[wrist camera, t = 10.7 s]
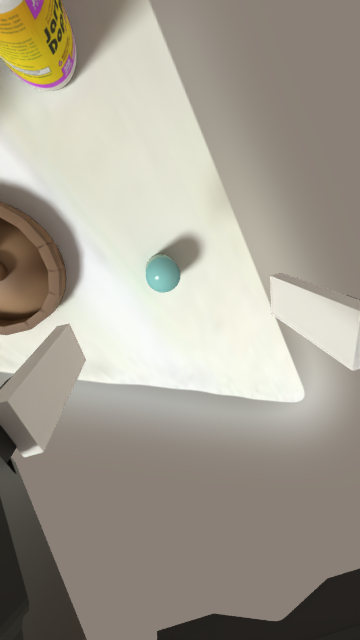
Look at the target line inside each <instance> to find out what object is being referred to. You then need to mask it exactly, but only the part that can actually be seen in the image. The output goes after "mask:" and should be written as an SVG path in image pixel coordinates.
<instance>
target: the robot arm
mask: <svg viewBox="0 0 360 640" xmlns="http://www.w3.org/2000/svg"><path fill="white" fill-rule="evenodd" d="M270 284H271V314H272V315H274V316H275V317H276V318H278V319H279V320H281V321H282V322H284V323H285V324H286V325H288V326H289V327H291V328H292V329H294V330H295V331H296V332H298V333H299V334H301V335H302V336H304V337H305V338H306V339H308V340H309V341H311V342H312V343H314V344H315V345H316V346H318V347H319V348H321V349H322V350H324V351H325V352H326V353H328V354H329V355H331V356H332V357H333V358H335V359H337V360H338V361H339V362H341V363H342V364H343V365H345V366H346V367H348V368H349V369H351V370H352V371H353V370H357V369H360V299H357V298H354V297H351V296H348V295H344V294H341V293H338V292H335V291H332V290H329V289H326V288H323V287H321V286H318V285H315V284H312V283H309V282H306V281H303V280H300V279H297V278H295V277H291V276H289V275H286V274H283V273H279V274H275V275H271V276H270ZM85 361H86V359H85V357H84V355H83V352H82V350H81V348H80V346H79V344H78V341H77V339H76V337H75V335H74V333H73V331H72V328H71V326H70V324H66V325H61V326H57V327H56V328H55V329H54V330H53V332H52V333H51V334H50V335H49V336H48V337H47V338H46V339H45V340H44V342H43V343H42V344H41V345H40V346H39V347H38V348H37V349H36V350H35V352H34V353H33V354H32V355H31V356H30V357H29V358H28V359H27V360H26V362H25V363H24V364H23V365H22V366H21V367H20V368H19V369H18V370H17V372H16V373H15V374H14V375H13V376H12V377H11V378H9V379H8V380H7V381H6V382H5V383H4V384H3V385H2V386H1V387H0V640H87V639H86V637H85V634H84V632H83V629H82V627H81V624H80V622H79V619H78V617H77V614H76V612H75V609H74V607H73V604H72V602H71V599H70V597H69V594H68V592H67V589H66V587H65V584H64V582H63V580H62V577H61V575H60V572H59V570H58V567H57V565H56V562H55V560H54V557H53V555H52V552H51V550H50V547H49V545H48V542H47V540H46V537H45V535H44V532H43V530H42V527H41V525H40V522H39V520H38V517H37V515H36V513H35V510H34V507H33V505H32V502H31V500H30V498H29V495H28V493H27V490H26V488H25V485H24V483H23V480H22V478H21V475H20V473H19V470H18V468H17V465H16V463H15V462H14V460H13V459H12V458H11V456H12V454H13V452H14V451H15V449H16V447H17V449H18V450H19V451H20V453H21V454H22V455H23V457H27V456H31V455H35V454H39V453H42V452H44V450H45V448H46V446H47V443H48V441H49V439H50V437H51V435H52V432H53V430H54V428H55V426H56V424H57V422H58V419H59V417H60V415H61V413H62V410H63V408H64V406H65V404H66V402H67V400H68V398H69V395H70V393H71V391H72V389H73V387H74V385H75V382H76V380H77V378H78V376H79V374H80V372H81V369H82V367H83V365H84V363H85ZM157 640H360V569H357V570H354V571H351V572H347V573H344V574H341V575H338V576H334V577H331V578H328V579H327V580H325V581H324V582H323V583H322V584H321V585H320V586H319V587H318V588H317V589H316V590H314V592H312V593H311V594H310V595H309V596H308V597H307V598H306V599H305V600H304V601H303V602H301V604H299V605H298V606H297V607H296V608H295V609H294V610H293V611H292V612H291V613H290V614H289V615H288V616H286V617H285V618H284V619H282V620H280V621H267V620H259V619H251V618H243V617H235V616H228V615H220V614H211V615H208V616H205V617H202V618H198V619H195V620H192V621H189V622H185V623H182V624H179V625H175V626H172V627H169V628H166V629H162V630H159V631H157Z"/></svg>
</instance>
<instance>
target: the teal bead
mask: <svg viewBox="0 0 360 640" xmlns="http://www.w3.org/2000/svg"><path fill="white" fill-rule="evenodd" d="M146 279H147V282H148V284H149V286H150V287H151V288H152V289H154V290H155V291H158V292H168V291H171V290H173V289H174V288H175V287H176V286H177V284H178V283H179V280H180V271H179V268H178V266H177V265H176V263H175V262H174V261H173V260H172V259H171V258H170V257H169V256H167V255H164V254H157V255H155V256H153V257H151V258H150V259H149V261H148V263H147V265H146Z"/></svg>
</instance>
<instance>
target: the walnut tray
mask: <svg viewBox="0 0 360 640" xmlns="http://www.w3.org/2000/svg"><path fill="white" fill-rule="evenodd" d="M65 287H66V270H65V266H64V262H63V259H62V256H61V254H60V252H59V250H58V248H57V246H56V244H55V243H54V241H53V240H52V238H51V237H50V236H49V234H48V233H47V232H46V231H45V230H44V229H43V228H42V227H41V226H40V225H39V224H38V223H37V222H36V221H34V220H33V219H32V218H31V217H29V216H28V215H26V214H25V213H23V212H22V211H20V210H18V209H16V208H14V207H12V206H9V205H7V204H5V203H3V202H0V334H1V335H9V334H13V333H18V332H22V331H26V330H30V329H32V328H34V327H35V326H36V325H38V324H39V323H40V322H42V321H43V320H44V319H46V318H47V317H48V316H49V315H51V314H52V313H53V312H54V311H55V309H56V307H57V306H58V304H59V303H60V301H61V299H62V297H63V294H64V291H65Z"/></svg>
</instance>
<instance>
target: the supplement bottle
mask: <svg viewBox="0 0 360 640" xmlns="http://www.w3.org/2000/svg"><path fill="white" fill-rule="evenodd" d="M0 58H1V59H2V60H3V61H4V62H5V63H6V65H7V66H8V67H9V68H10V69H11V70H12V71H13V73H14V74H15V75H16V76H17V77H18V78H20V79H21V80H22V81H23V82H25V83H26V84H27V85H29V86H31V87H33V88H35V89H37V90H41V91H55V90H58V89H61V88H62V87H64V86H65V85H66V84H67V83H68V82H69V81H70V79H71V77H72V75H73V73H74V70H75V66H76V44H75V38H74V35H73V31H72V28H71V25H70V22H69V19H68V17H67V14H66V11H65V9H64V6H63V3H62V0H0Z"/></svg>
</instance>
